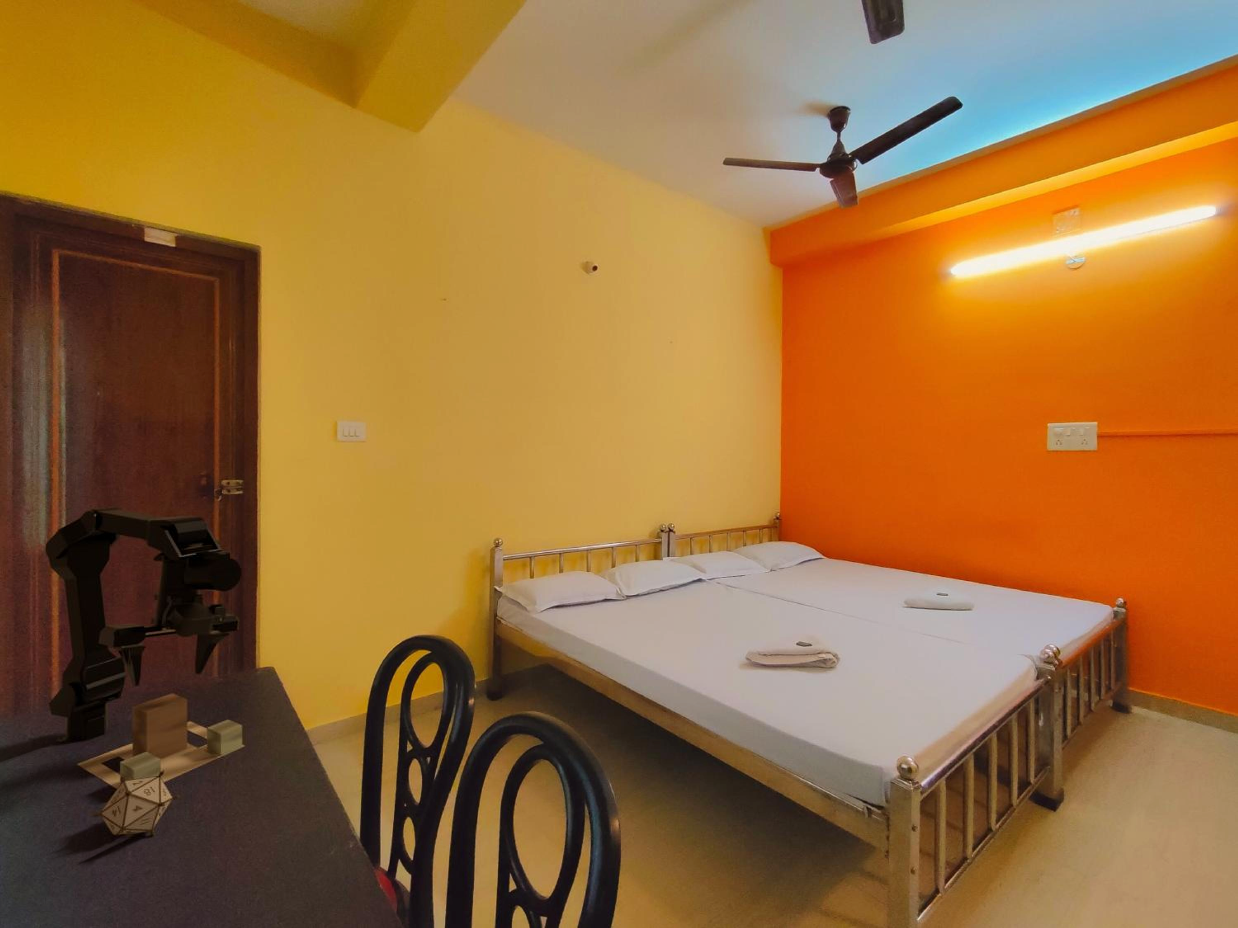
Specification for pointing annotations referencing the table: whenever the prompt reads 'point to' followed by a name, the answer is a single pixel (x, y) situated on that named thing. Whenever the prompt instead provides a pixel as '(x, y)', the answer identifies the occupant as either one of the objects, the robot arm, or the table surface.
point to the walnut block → (160, 726)
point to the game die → (136, 805)
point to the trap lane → (147, 765)
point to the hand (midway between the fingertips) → (168, 679)
